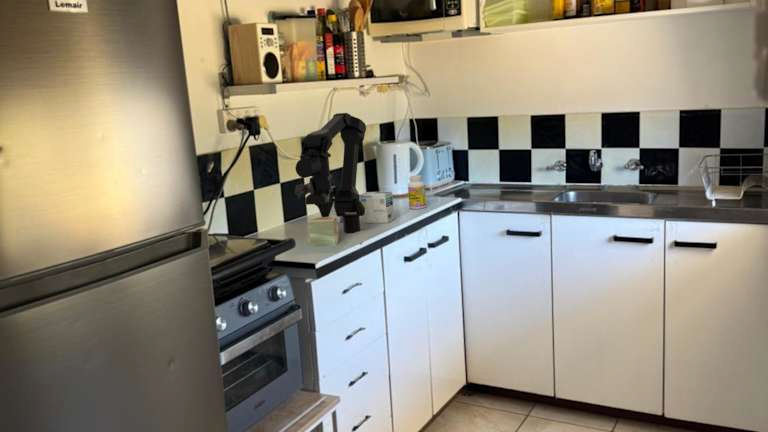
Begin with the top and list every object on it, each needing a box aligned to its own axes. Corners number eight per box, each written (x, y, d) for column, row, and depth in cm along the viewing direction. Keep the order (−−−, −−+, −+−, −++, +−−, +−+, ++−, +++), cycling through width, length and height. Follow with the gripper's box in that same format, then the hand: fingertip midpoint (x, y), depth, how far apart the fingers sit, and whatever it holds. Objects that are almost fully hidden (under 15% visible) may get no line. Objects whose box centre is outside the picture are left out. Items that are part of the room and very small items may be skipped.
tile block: (315, 241, 231) (312, 217, 228) (339, 240, 229) (336, 216, 227) (311, 246, 226) (307, 222, 224) (335, 245, 224) (332, 221, 222)
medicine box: (340, 222, 268) (338, 199, 266) (328, 223, 269) (326, 200, 267) (345, 218, 276) (343, 196, 274) (334, 219, 276) (331, 197, 275)
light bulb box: (395, 219, 265) (392, 190, 263) (387, 223, 259) (385, 193, 257) (369, 219, 269) (366, 191, 267) (361, 223, 263) (358, 194, 261)
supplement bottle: (406, 209, 285) (404, 177, 282) (413, 206, 290) (411, 175, 288) (421, 209, 281) (419, 177, 279) (428, 206, 287) (426, 174, 285)
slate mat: (308, 245, 232) (307, 242, 232) (349, 243, 230) (349, 240, 230) (292, 256, 217) (292, 254, 217) (337, 255, 214) (336, 252, 214)
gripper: (305, 170, 237) (309, 217, 239) (286, 178, 219) (292, 228, 221) (337, 168, 234) (342, 215, 237) (322, 176, 216) (326, 227, 219)
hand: (325, 221), depth 229 cm, fingers closed
